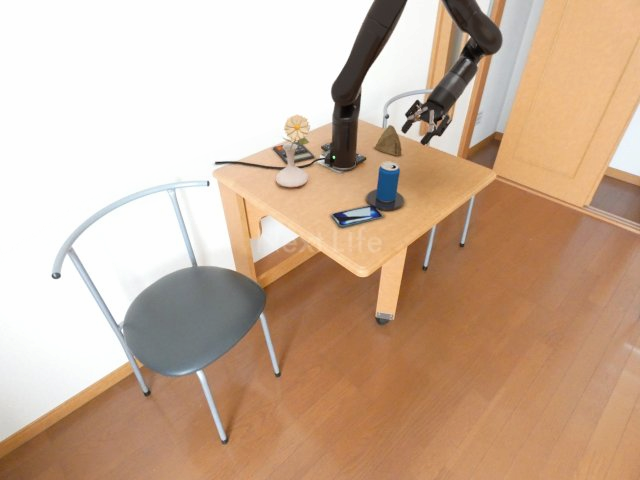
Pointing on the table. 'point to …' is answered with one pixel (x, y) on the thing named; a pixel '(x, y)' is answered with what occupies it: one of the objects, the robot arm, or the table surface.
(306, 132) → the flower in vase
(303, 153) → the calculator
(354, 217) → the smartphone
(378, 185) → the beverage can
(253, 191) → the table surface
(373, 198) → the metal coaster
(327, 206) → the table surface
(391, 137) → the rock
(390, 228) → the table surface
